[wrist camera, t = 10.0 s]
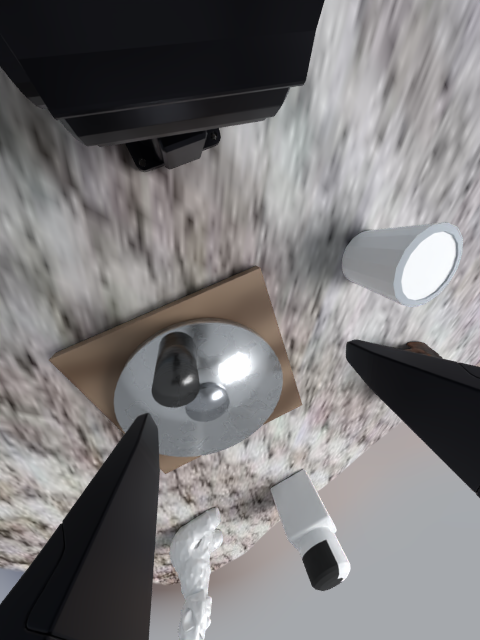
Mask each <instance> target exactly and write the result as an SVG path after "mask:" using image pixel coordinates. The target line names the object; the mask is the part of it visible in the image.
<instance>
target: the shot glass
mask: <svg viewBox="0 0 480 640" xmlns="http://www.w3.org/2000/svg"><path fill="white" fill-rule="evenodd" d="M462 243H463V238H462V236H461V234H460V232H459V230H458V228H457V227H456V226H454V225H452V224H450V223H447V222H445V223H435V224H425V225H416V226H406V227H397V228H387V229H378V230H369V231H364V232H361V233H360V234H358V235H357V236H355V237H354V238H353V239H352V240H351V241H350V243H349V244H348V245H347V247H346V249H345V252H344V254H343V257H342V270H343V273H344V276H345V277H346V278H347V279H348V280H349V281H351V282H353V283H355V284H358V285H360V286H362V287H364V288H366V289H369V290H371V291H373V292H375V293H377V294H380V295H382V296H384V297H386V298H388V299H390V300H393V301H395V302H397V303H399V304H401V305H405V306H409V307H416V306H419V305H423V304H426V303H427V302H429V301H430V300H432V299H433V298H435V297H436V296H437V295H438V294H439V293H440V292H441V291H442V290H443V289H444V288H445V287H446V286H447V285H448V283H449V282H450V280H451V278H452V277H453V275H454V273H455V272H456V270H457V268H458V265H459V262H460V259H461V255H462Z"/></svg>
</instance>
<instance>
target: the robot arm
mask: <svg viewBox="0 0 480 640" xmlns="http://www.w3.org/2000/svg"><path fill="white" fill-rule="evenodd" d="M323 4H324V0H0V66H1V68H2V69H3V70H4V71H5V73H6V74H7V75H8V77H9V78H10V79H11V80H12V82H13V83H14V84H15V85H16V86H17V87H18V88H19V90H20V91H21V92H22V93H23V94H24V95H25V96H26V97H27V98H28V99H29V100H30V101H31V102H32V103H34V104H35V105H36V106H38V107H40V108H42V109H48V110H49V111H50V113H51V114H52V116H53V117H54V118H55V119H56V120H60V121H61V122H62V124H63V125H64V126H65V128H66V129H67V130H68V131H69V132H70V133H71V134H72V135H73V136H74V137H75V138H76V139H77V140H78V141H80V142H81V143H83V144H84V145H86V146H94V145H98V146H99V147H104V146H110V145H116V144H123V143H125V144H126V146H127V148H128V150H129V152H130V154H131V156H132V158H133V160H134V162H135V164H136V166H137V167H138V169H139V170H141V171H143V172H147V171H150V170H153V169H155V168H158V167H161V166H163V165H165V167H166V168H168V169H172V168H175V167H178V166H180V165H183V164H186V163H188V162H191V161H194V160H196V159H199V158H200V157H201V154H202V151H203V150H206V149H209V148H211V147H214V146H216V145H218V143H219V141H220V138H221V136H220V131H219V128H221V127H227V126H233V125H240V124H246V123H252V122H258V121H263V120H265V119H266V118H268V117H274V116H275V115H276V113H277V112H278V110H279V109H280V107H281V106H282V104H283V102H284V100H285V99H286V97H287V94H288V92H289V90H290V87H295V86H302V85H304V83H305V81H306V77H307V72H308V67H309V62H310V57H311V52H312V47H313V42H314V37H315V32H316V28H317V25H318V21H319V18H320V14H321V11H322V7H323ZM212 133H214V134H215V135H216V140H213V139H211V136H210V134H212ZM141 159H143V160H145V161H146V165H145V166H141V165H140V164H139V162H140V160H141ZM346 359H347V361H348V362H349V363H350V365H351V366H352V367H353V368H354V369H355V371H356V372H357V373H358V374H359V375H360V377H361V378H362V379H363V380H364V382H365V383H366V384H367V385H368V386H369V387H370V388H371V389H372V390H373V392H374V393H375V394H376V395H377V396H378V397H379V398H380V399H381V400H382V401H383V402H384V403H385V404H386V405H387V406H388V407H389V408H390V409H391V410H392V411H393V412H394V413H395V414H396V415H397V416H398V417H399V418H400V419H401V420H402V421H403V422H404V423H405V424H407V425H408V427H409V428H410V429H411V430H413V432H414V433H416V434H417V436H418V437H420V438H421V439H422V440H423V441H424V442H425V443H426V444H427V445H428V446H429V447H430V448H431V449H432V450H433V451H434V452H435V453H436V454H437V455H438V456H439V457H440V458H441V459H442V460H443V461H444V462H445V463H446V464H447V465H448V466H449V467H450V468H451V469H452V470H453V471H454V472H455V473H456V474H457V475H458V476H459V477H460V478H461V479H462V480H463V481H464V482H465V483H466V484H467V485H468V486H469V487H470V488H471V489H472V490H473V491H474V492H475V493H476V495H477V496H478V497H479V498H480V367H477V366H473V365H468V364H464V363H457V362H455V361H450V360H446V359H441V358H437V357H432V356H428V355H423V354H419V353H414V352H410V351H406V350H401V349H397V348H392V347H388V346H383V345H379V344H374V343H370V342H365V341H361V340H352V341H349V342H347V344H346ZM159 475H160V463H159V438H158V428H157V425H156V423H155V421H154V420H153V418H152V416H151V415H150V414H149V413H145V414H142V415H139V416H138V417H137V418H136V419H135V420H134V422H133V423H132V425H131V426H130V427H129V429H128V430H127V432H126V433H125V434H124V436H123V437H122V439H121V440H120V441H119V443H118V444H117V446H116V447H115V448H114V450H113V451H112V453H111V454H110V455H109V457H108V458H107V460H106V461H105V462H104V464H103V465H102V467H101V468H100V469H99V471H98V472H97V474H96V475H95V476H94V478H93V479H92V480H91V482H90V483H89V485H88V486H87V487H86V489H85V490H84V492H83V493H82V494H81V496H80V497H79V499H78V500H77V501H76V503H75V504H74V506H73V507H72V508H71V510H70V511H69V513H68V514H67V515H66V517H65V518H64V520H63V523H62V524H60V525H59V527H58V528H57V529H56V531H55V532H54V534H53V535H52V536H51V538H50V539H49V541H48V542H47V543H46V545H45V546H44V547H43V549H42V550H41V551H40V553H39V554H38V555H37V557H36V558H35V560H34V561H33V562H32V564H31V565H30V566H29V568H28V569H27V570H26V572H25V573H24V574H23V575H22V577H21V578H20V579H19V581H18V582H17V583H16V585H15V586H14V587H13V588H12V590H11V591H10V592H9V594H8V595H7V596H6V598H5V599H4V600H3V601H2V603H1V604H0V640H149V626H150V611H151V596H152V581H153V566H154V551H155V536H156V521H157V506H158V491H159Z"/></svg>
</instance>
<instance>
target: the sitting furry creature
mask: <svg viewBox="0 0 480 640" xmlns="http://www.w3.org/2000/svg"><path fill="white" fill-rule="evenodd" d="M220 521H221V516H220V512H219V509H218V508H217V507H215V508H212V509H210V510H206V512H204V513H202V514H201V515H199V516H198V517H196V518H195V519H193V520H191V521H190V522H189V523H187V524H186V525H184V526H182V527H180V528H179V530H178V532H177V533H176V534H175V536H174V538H172V543H171V545H170V552H169V555H170V559H171V562H172V564H173V567H175V571H176V572H177V573H178V576H179V579H180V582H181V588H182V589H181V592H182V594H183V595H184V599H186V601H185V603H184V605H183V609H182V610H181V619H180V623H179V629H178V637H179V640H204V638H205V631H206V629H207V628H208V627H209V625H210V624H211V619H210V618H209V617H210V615H211V604H212V598H211V596H207V595H208V582H209V575H210V573H211V569H210V565H209V563H210V560H209V558H210V555H211V554H210V552H213V551H215V550H216V549H217V548H218V547H219V546H221V544H222V542H223V535H222V531H221V530H218V529H217V530H215V529H216V527H217V526H218V525H219V523H220Z"/></svg>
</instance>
